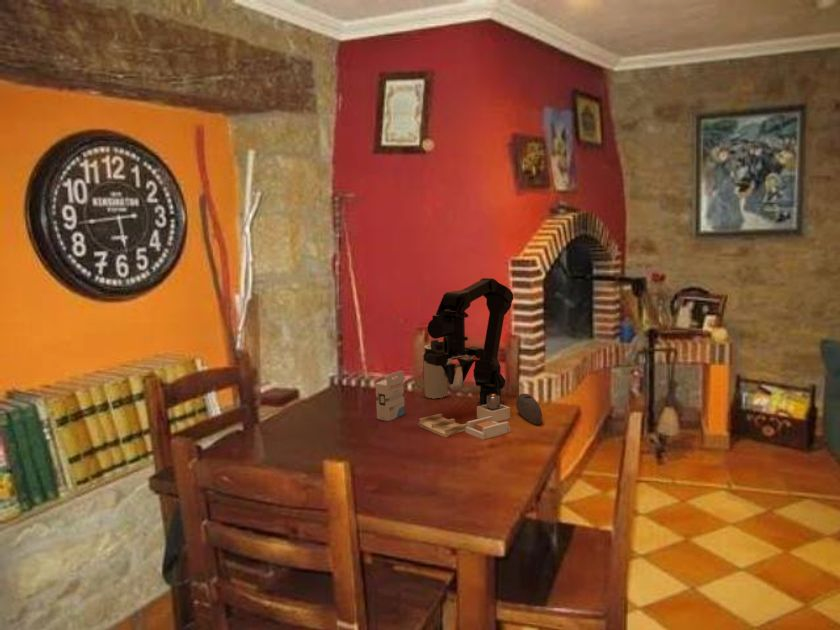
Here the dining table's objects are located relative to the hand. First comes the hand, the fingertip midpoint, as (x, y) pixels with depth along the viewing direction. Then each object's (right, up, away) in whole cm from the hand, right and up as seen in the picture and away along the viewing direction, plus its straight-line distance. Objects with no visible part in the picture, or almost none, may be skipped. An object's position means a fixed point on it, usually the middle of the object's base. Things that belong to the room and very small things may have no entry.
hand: (456, 383), depth 201 cm
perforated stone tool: (+23, -12, -2) cm, 25 cm away
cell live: (0, -2, 0) cm, 2 cm away
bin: (+11, -11, 0) cm, 16 cm away
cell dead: (+11, -11, 0) cm, 16 cm away
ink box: (-21, -12, +6) cm, 24 cm away
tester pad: (+8, -14, -13) cm, 21 cm away
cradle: (+8, -13, -13) cm, 20 cm away
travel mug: (-6, -8, +28) cm, 29 cm away
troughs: (-4, -13, -7) cm, 15 cm away
